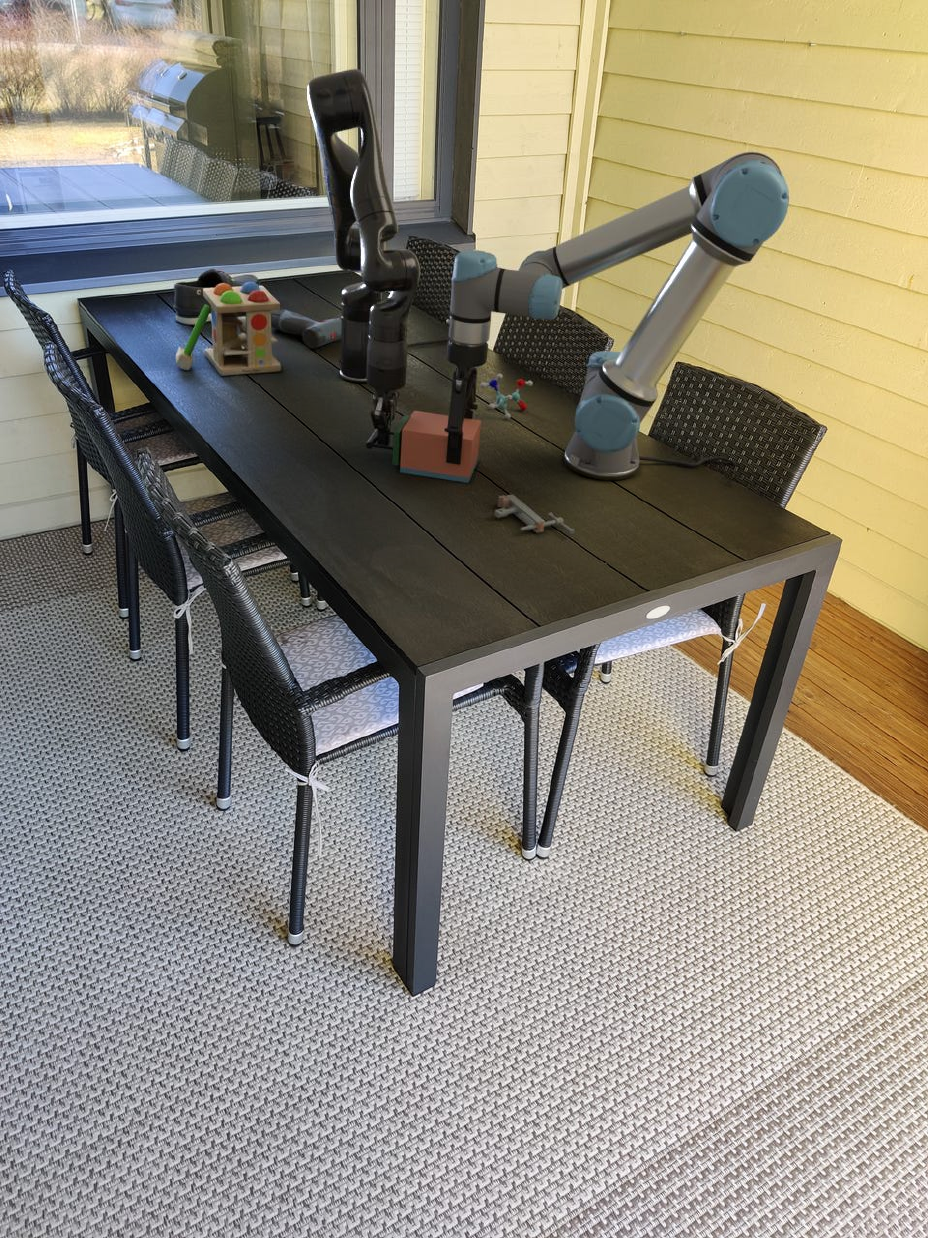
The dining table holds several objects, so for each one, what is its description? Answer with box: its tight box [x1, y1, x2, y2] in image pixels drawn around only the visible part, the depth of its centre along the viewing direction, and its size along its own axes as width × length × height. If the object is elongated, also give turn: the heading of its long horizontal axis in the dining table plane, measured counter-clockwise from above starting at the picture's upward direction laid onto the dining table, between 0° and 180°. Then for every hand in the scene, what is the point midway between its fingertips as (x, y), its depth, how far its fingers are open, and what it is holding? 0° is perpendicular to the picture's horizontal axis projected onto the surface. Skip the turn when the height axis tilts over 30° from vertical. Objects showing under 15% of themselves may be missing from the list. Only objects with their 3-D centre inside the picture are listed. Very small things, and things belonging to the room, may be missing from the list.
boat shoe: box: [173, 268, 262, 325], centre depth 261 cm, size 13×33×10 cm, turn 147°
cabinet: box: [399, 410, 482, 484], centre depth 192 cm, size 14×10×9 cm
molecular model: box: [480, 373, 533, 420], centre depth 219 cm, size 12×10×10 cm
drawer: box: [365, 414, 411, 467], centre depth 193 cm, size 18×9×7 cm, turn 80°
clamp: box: [494, 494, 575, 535], centre depth 178 cm, size 15×2×10 cm
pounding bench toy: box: [174, 282, 282, 377], centre depth 225 cm, size 23×14×18 cm, turn 116°
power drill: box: [271, 308, 341, 349], centre depth 252 cm, size 5×19×20 cm
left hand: (383, 445), depth 194 cm, fingers closed
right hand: (458, 451), depth 192 cm, fingers closed on cabinet, 10 cm apart
